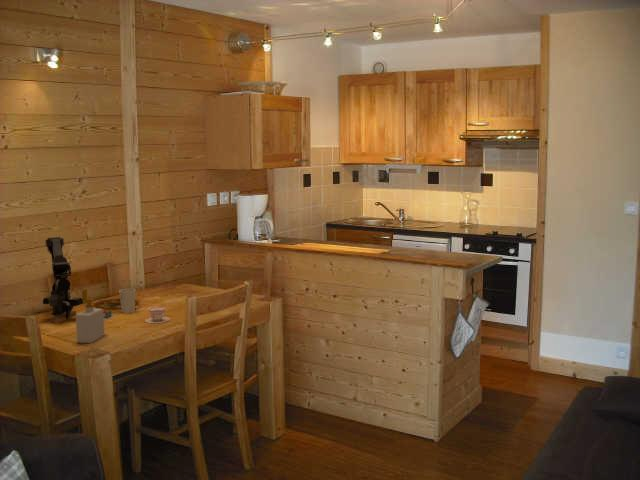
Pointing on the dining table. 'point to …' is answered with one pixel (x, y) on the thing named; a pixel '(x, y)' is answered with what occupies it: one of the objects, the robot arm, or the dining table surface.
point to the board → (109, 317)
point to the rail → (62, 317)
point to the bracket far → (107, 314)
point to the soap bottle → (89, 322)
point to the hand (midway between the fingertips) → (63, 318)
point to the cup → (127, 300)
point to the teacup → (157, 315)
